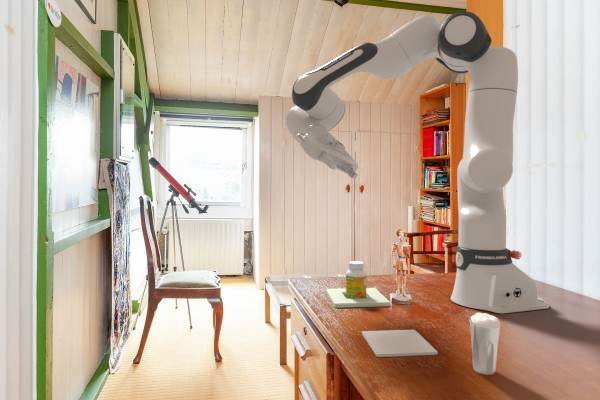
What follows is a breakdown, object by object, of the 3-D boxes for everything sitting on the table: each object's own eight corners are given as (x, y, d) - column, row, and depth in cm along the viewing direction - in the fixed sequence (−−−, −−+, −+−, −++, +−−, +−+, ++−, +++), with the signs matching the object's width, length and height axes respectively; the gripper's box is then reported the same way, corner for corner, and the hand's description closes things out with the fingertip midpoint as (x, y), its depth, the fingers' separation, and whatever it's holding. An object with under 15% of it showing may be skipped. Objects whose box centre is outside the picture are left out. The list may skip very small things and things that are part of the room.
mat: (414, 331, 82) (414, 329, 82) (437, 354, 71) (437, 351, 71) (361, 333, 81) (361, 331, 81) (376, 357, 70) (376, 354, 70)
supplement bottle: (343, 300, 105) (343, 263, 104) (348, 295, 110) (348, 259, 109) (363, 302, 103) (363, 265, 102) (368, 297, 108) (368, 261, 107)
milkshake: (458, 364, 67) (459, 305, 67) (489, 363, 68) (490, 305, 67) (472, 377, 63) (473, 314, 62) (505, 376, 63) (506, 313, 63)
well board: (374, 291, 114) (374, 287, 114) (390, 306, 100) (390, 302, 100) (325, 292, 112) (325, 288, 112) (334, 307, 98) (334, 303, 98)
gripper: (301, 122, 107) (328, 150, 98) (346, 146, 122) (372, 173, 113) (288, 140, 109) (312, 170, 100) (333, 162, 124) (358, 190, 115)
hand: (345, 172), depth 107 cm, fingers open, 8 cm apart
